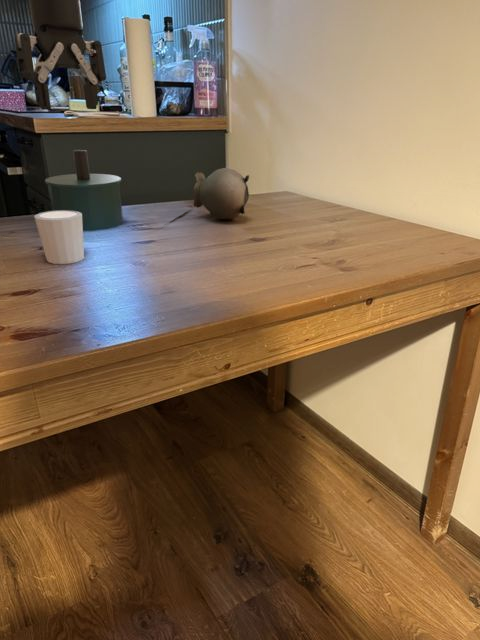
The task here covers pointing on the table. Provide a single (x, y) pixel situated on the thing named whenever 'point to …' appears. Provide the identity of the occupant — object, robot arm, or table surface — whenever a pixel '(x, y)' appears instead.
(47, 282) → the table surface
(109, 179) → the lid
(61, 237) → the shot glass
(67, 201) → the pot
